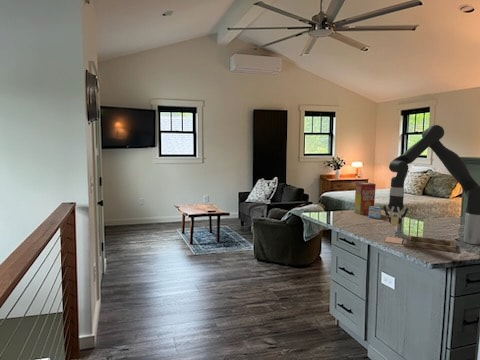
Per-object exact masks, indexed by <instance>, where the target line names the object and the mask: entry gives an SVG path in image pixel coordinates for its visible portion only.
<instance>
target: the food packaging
mask: <svg viewBox="0 0 480 360" xmlns="http://www.w3.org/2000/svg"><path fill="white" fill-rule="evenodd" d="M354 195H355V196H354V210H353V211H354V213H355V214H357V215H362V216H363V215H369V207H370V206H373V207H375V198H376V197H375V196H376V183H374V182H373V183H372V182H356V183H355V194H354Z"/></svg>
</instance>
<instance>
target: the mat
mask: <svg viewBox="0 0 480 360" xmlns="http://www.w3.org/2000/svg"><path fill="white" fill-rule="evenodd" d="M403 242H404V238H399V237H392V236H391V237H390V236H386V238H385V240H384V243H387V244H390V243H391V244H397V245H402V244H403Z"/></svg>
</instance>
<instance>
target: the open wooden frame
mask: <svg viewBox="0 0 480 360" xmlns="http://www.w3.org/2000/svg"><path fill="white" fill-rule="evenodd" d="M411 240H412V241H411ZM406 246H407V247H413V246H414V247H415V248H422V249H430V250H437V251H445V252H452V253H455V252H457V245H456V241H455V240H450V239H442V238H441V239H440V238H432V237H425V236H417V235H407V237H406ZM414 247H413V248H414Z"/></svg>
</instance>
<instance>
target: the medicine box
mask: <svg viewBox="0 0 480 360" xmlns="http://www.w3.org/2000/svg"><path fill="white" fill-rule="evenodd" d="M381 214H382V207H380V206H379V207H378V206H374V207H373V206H370V207H369V214H368V218H369V219H374V220H375V219H376V220H380V219H381V217H382V215H381Z"/></svg>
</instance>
